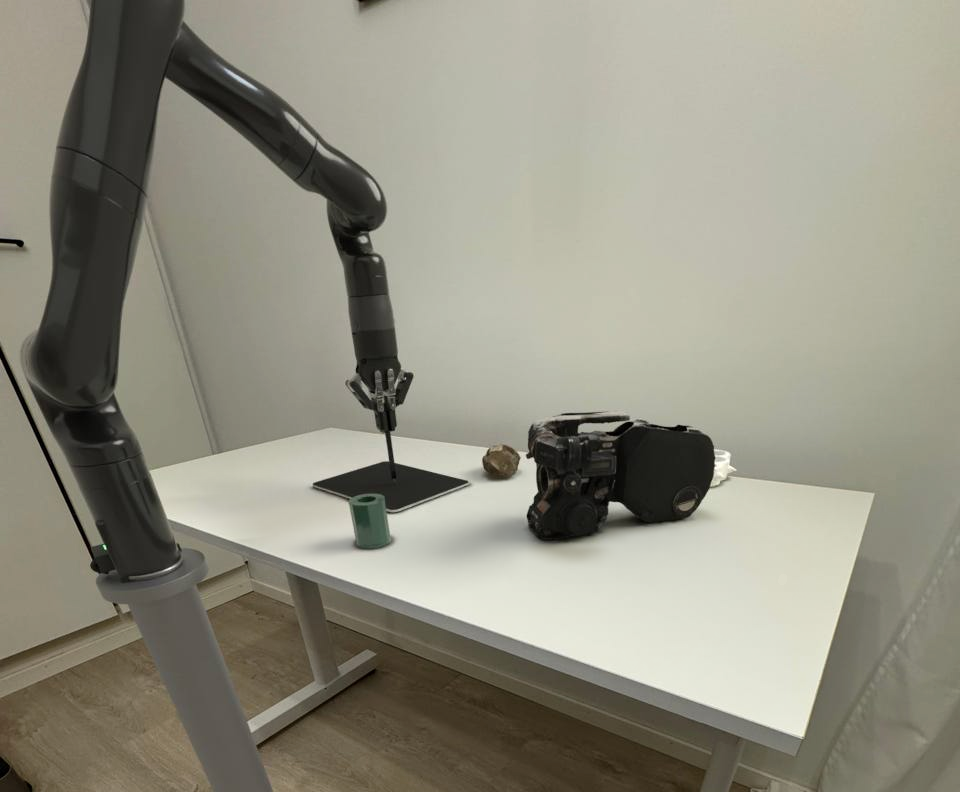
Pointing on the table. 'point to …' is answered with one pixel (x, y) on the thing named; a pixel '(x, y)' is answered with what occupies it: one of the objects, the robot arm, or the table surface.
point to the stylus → (390, 447)
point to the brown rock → (501, 461)
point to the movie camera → (614, 472)
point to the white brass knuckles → (721, 466)
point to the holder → (370, 520)
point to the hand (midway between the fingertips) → (387, 431)
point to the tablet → (399, 496)
